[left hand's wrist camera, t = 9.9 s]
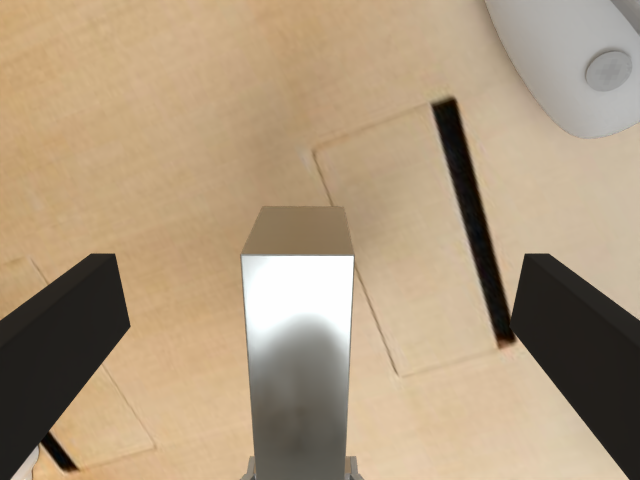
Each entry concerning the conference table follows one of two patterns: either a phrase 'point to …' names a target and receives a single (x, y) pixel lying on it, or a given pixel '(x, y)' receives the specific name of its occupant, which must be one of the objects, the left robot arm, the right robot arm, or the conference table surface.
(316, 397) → the bar
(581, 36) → the projector
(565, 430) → the conference table surface
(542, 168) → the conference table surface
